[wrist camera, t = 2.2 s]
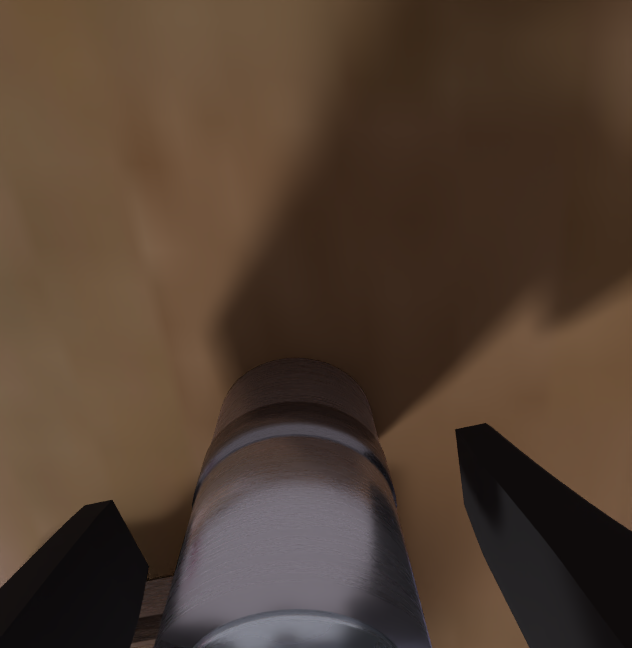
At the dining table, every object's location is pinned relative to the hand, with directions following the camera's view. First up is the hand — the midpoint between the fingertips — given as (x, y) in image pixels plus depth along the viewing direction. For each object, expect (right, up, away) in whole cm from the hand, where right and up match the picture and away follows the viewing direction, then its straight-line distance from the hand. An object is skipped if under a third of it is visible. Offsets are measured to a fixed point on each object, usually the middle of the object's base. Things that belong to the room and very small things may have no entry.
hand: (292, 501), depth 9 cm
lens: (0, +1, +2) cm, 3 cm away
